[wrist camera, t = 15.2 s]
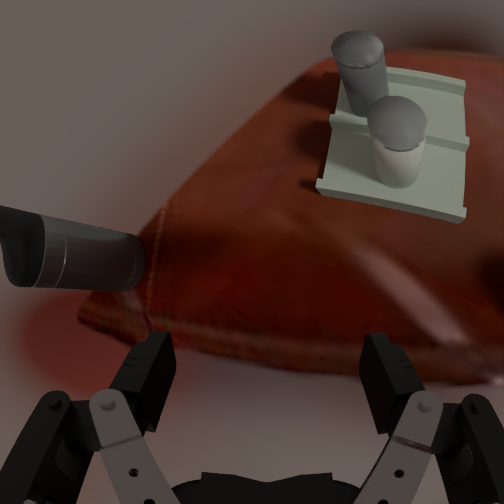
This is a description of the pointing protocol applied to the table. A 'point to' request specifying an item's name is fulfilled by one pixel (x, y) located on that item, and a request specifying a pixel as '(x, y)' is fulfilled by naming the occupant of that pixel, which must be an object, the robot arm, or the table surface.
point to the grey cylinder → (361, 69)
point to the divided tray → (433, 160)
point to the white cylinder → (397, 139)
